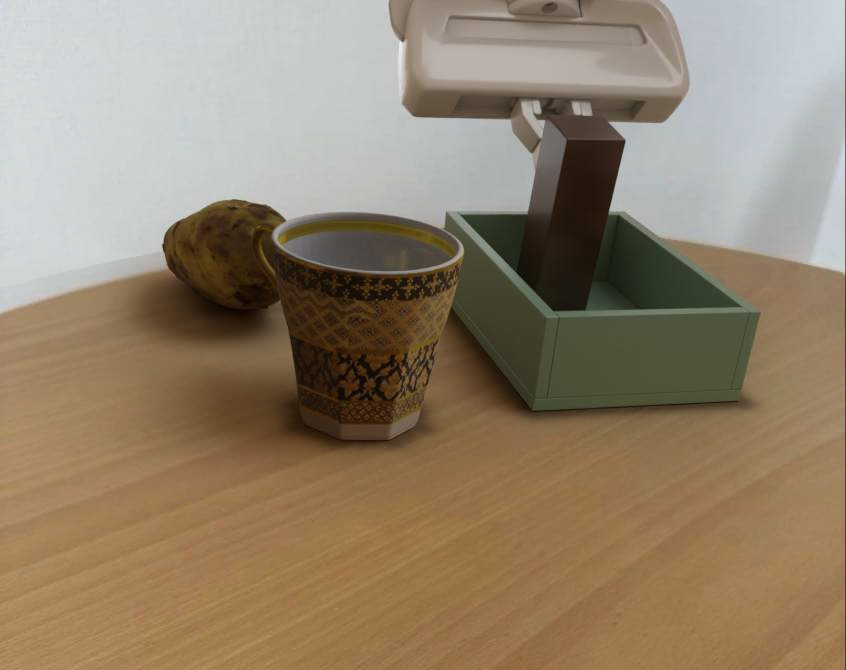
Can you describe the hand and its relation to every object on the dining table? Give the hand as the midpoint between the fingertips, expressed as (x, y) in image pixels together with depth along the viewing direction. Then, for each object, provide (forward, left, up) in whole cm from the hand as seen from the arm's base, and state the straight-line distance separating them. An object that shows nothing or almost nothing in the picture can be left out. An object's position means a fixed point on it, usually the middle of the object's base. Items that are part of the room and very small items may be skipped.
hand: (560, 170), depth 77 cm
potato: (+22, 0, -10) cm, 24 cm away
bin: (0, +7, -9) cm, 12 cm away
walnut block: (0, +1, -8) cm, 8 cm away
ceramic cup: (+18, +15, -10) cm, 25 cm away
